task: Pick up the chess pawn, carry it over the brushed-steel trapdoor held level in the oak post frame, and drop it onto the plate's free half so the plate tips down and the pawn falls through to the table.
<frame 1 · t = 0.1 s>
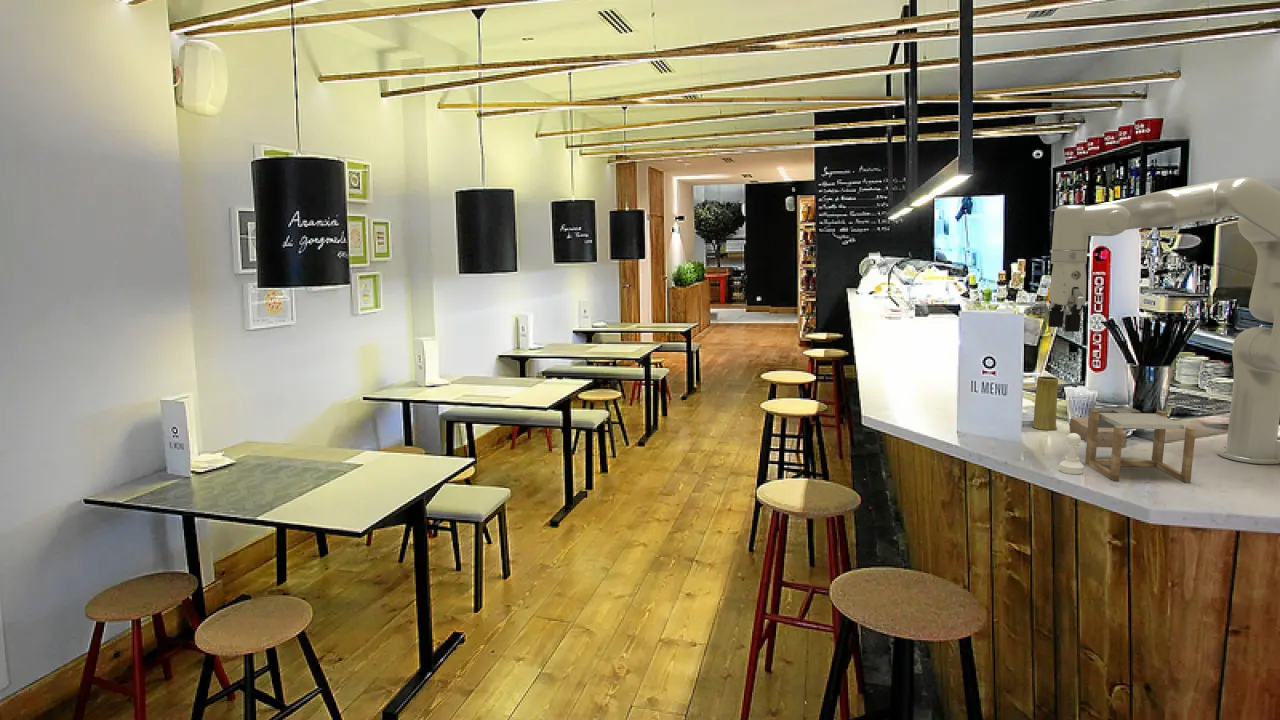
hand: (1063, 329, 193), 31 cm above the table, fingers open, 9 cm apart
chess pawn: (1071, 472, 184), on the table
frame: (1129, 469, 185), on the table
vase: (1044, 428, 225), on the table
brick: (1097, 441, 212), on the table
trapdoor: (1129, 424, 185), point 10 cm above the table, hinge at 0.0°
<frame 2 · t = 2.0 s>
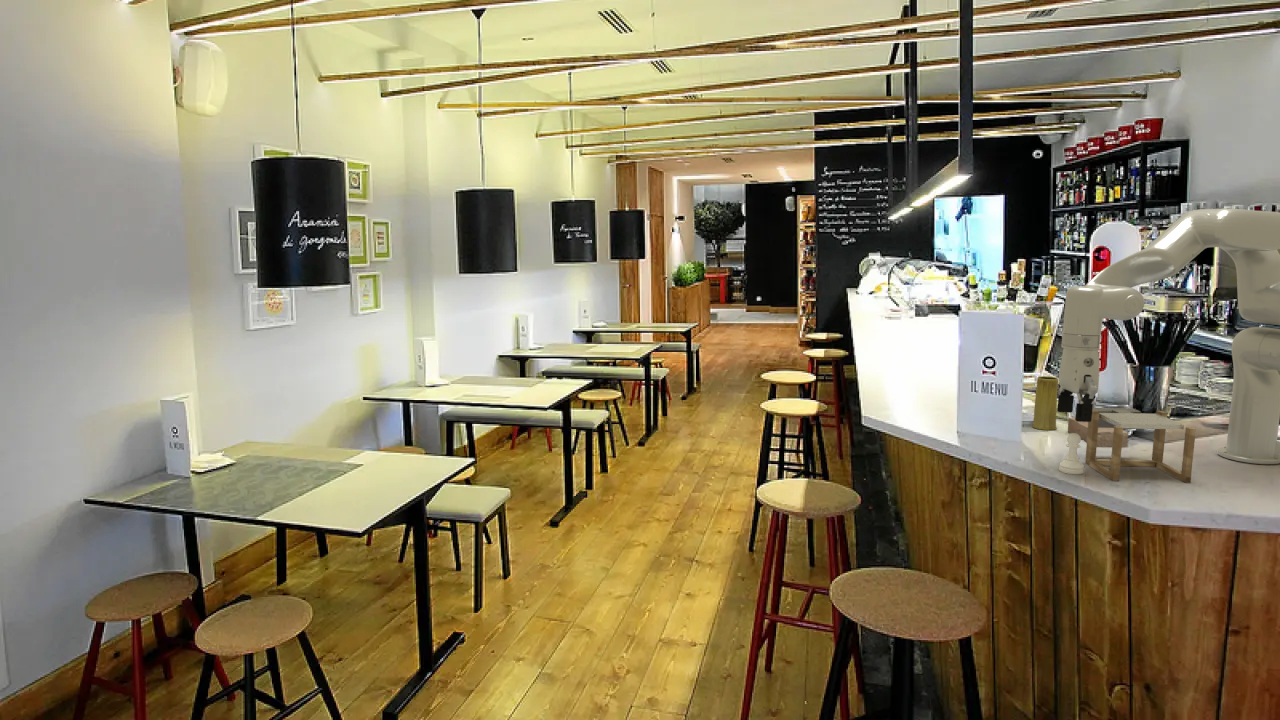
hand: (1073, 416, 182), 13 cm above the table, fingers open, 9 cm apart
nothing on the table moved.
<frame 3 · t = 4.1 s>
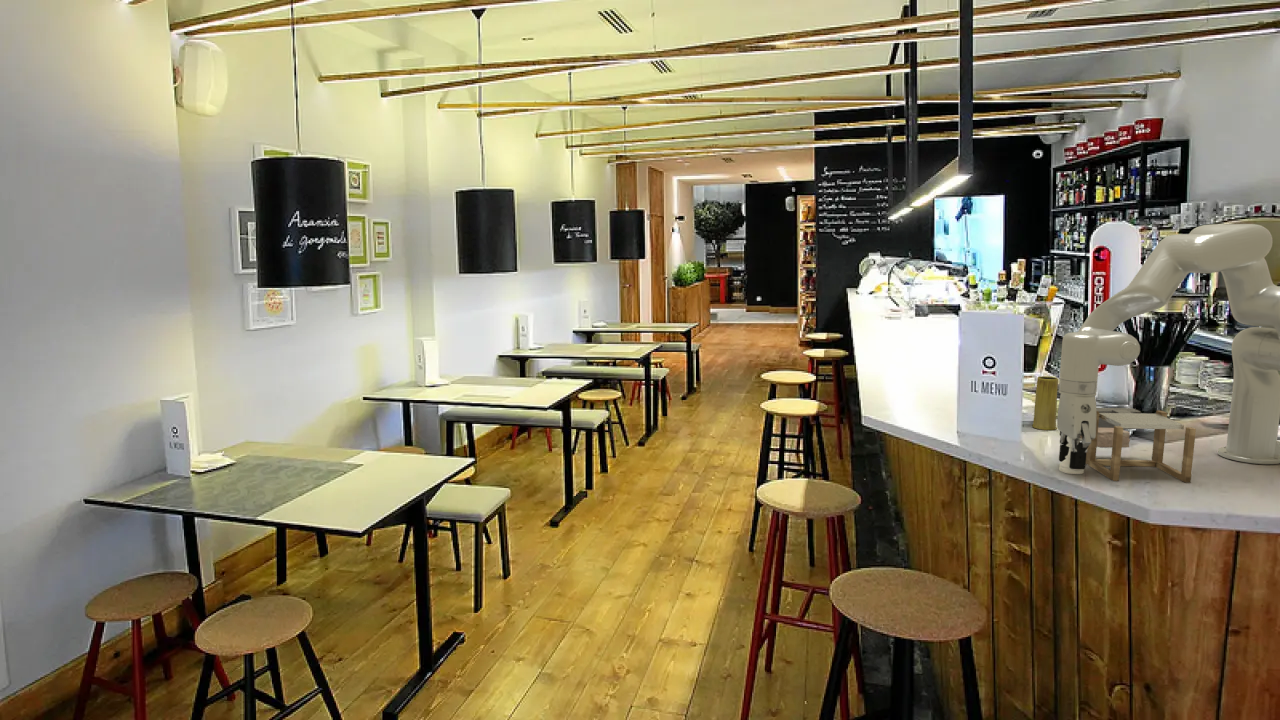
hand: (1071, 464, 183), 2 cm above the table, fingers closed on chess pawn, 5 cm apart
chess pawn: (1071, 472, 184), on the table, touching gripper
everything else where it was.
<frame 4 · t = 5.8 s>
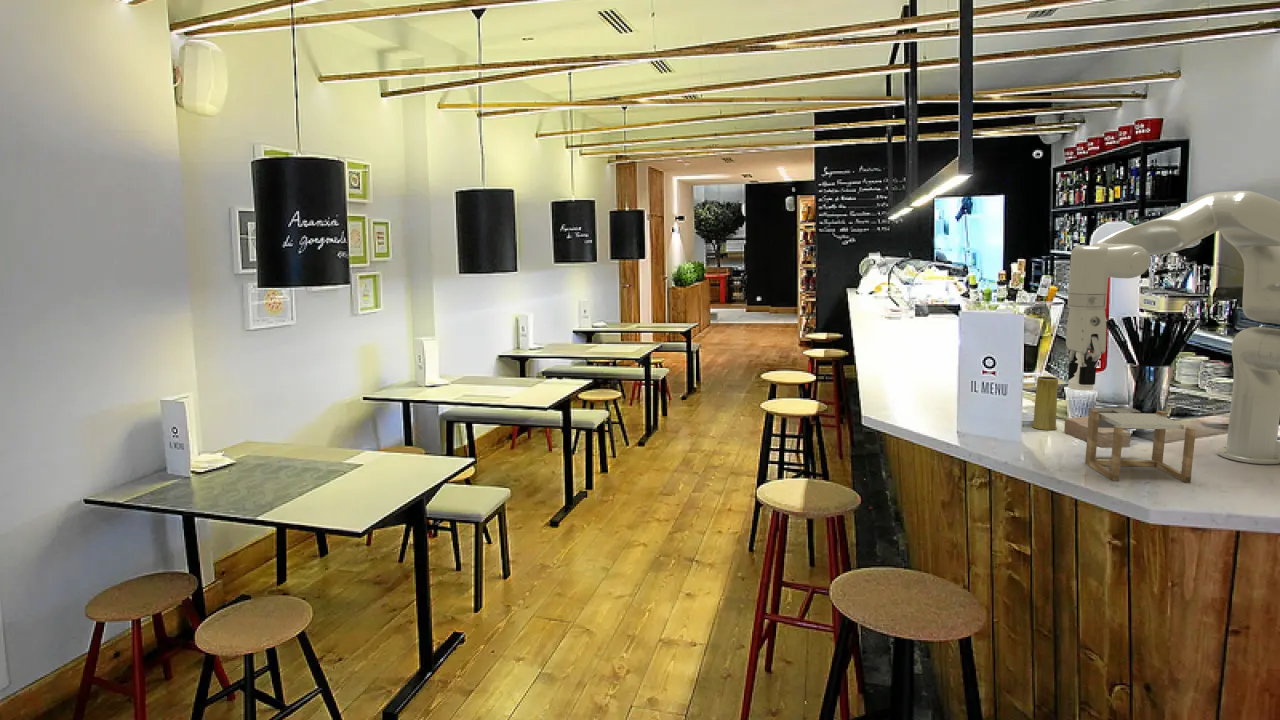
hand: (1081, 381, 180), 21 cm above the table, fingers closed on chess pawn, 5 cm apart
chess pawn: (1080, 389, 181), point 19 cm above the table, touching gripper
everything else where it was.
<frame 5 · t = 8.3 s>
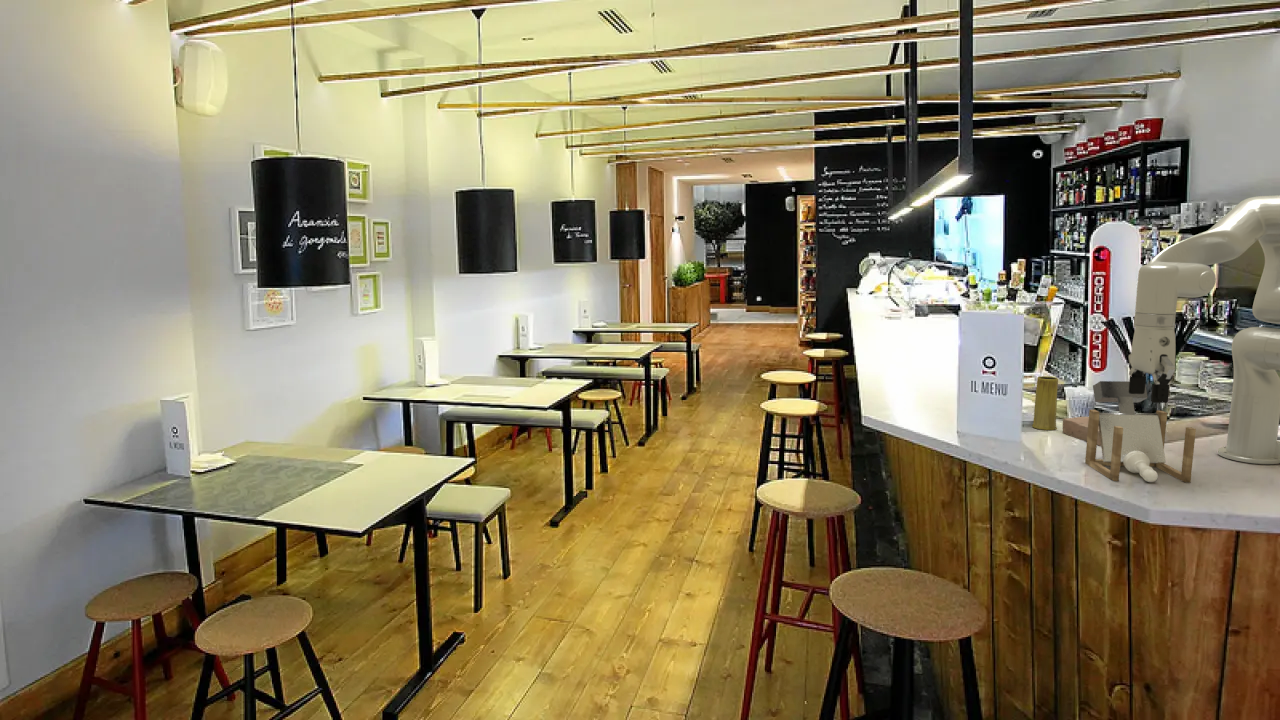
hand: (1147, 397, 177), 18 cm above the table, fingers open, 9 cm apart
chess pawn: (1134, 459, 182), point 3 cm above the table, touching trapdoor
trapdoor: (1124, 422, 187), point 10 cm above the table, hinge at -63.5°, touching chess pawn
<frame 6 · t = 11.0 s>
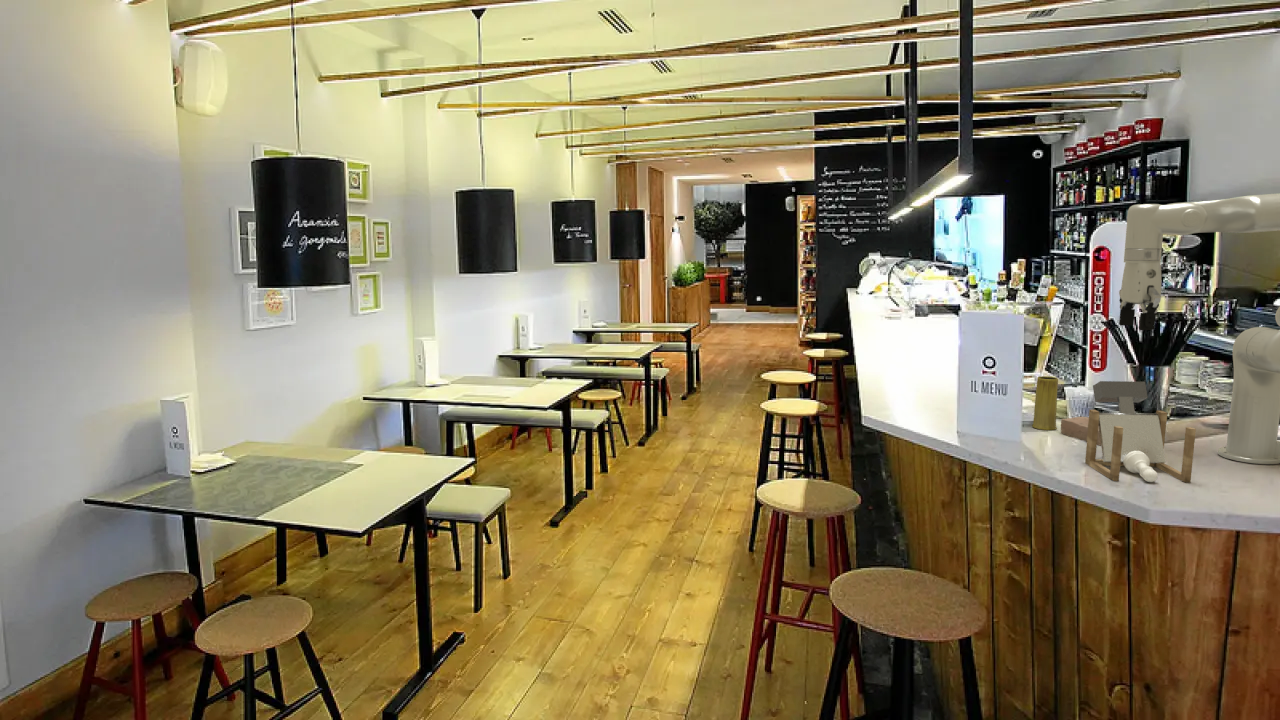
hand: (1136, 327, 194), 31 cm above the table, fingers open, 9 cm apart
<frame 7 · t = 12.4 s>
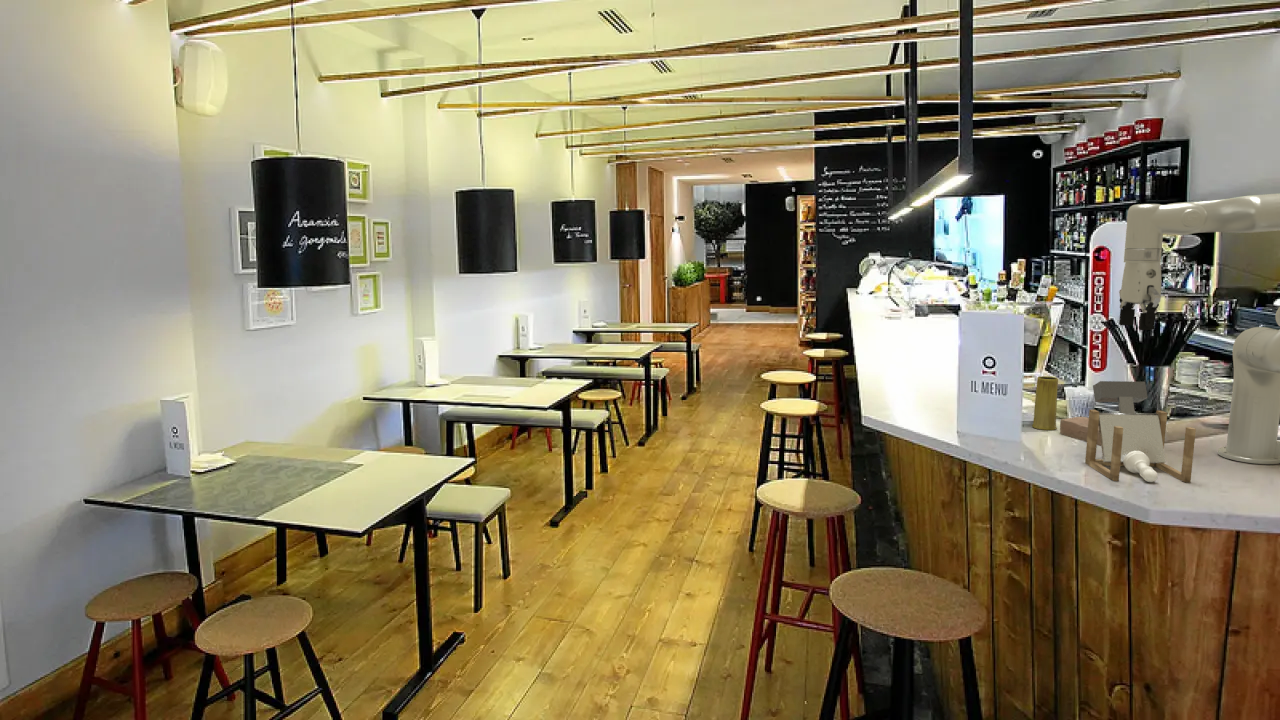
hand: (1136, 327, 194), 31 cm above the table, fingers open, 9 cm apart
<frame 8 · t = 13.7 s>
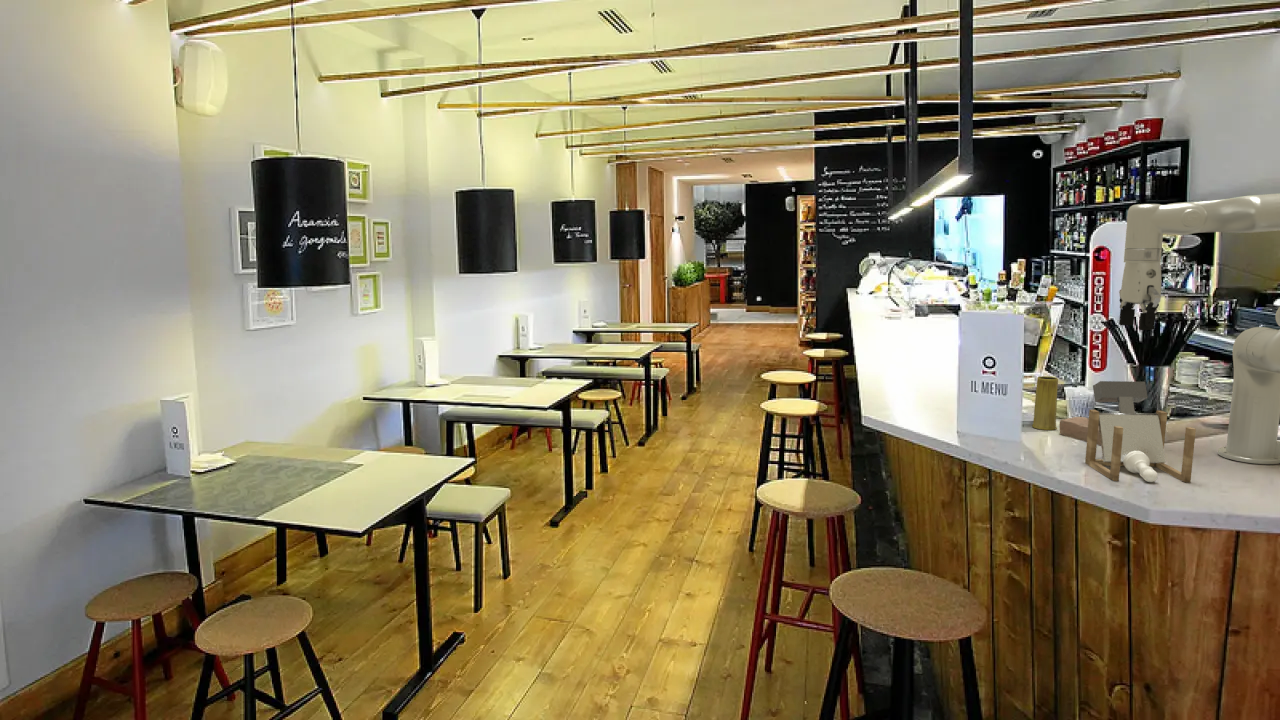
hand: (1136, 327, 194), 31 cm above the table, fingers open, 9 cm apart
at the end: chess pawn point 2.8 cm above the table; chess pawn inside the target area (0.3 cm from its centre), point 2.8 cm above the table; the gripper is holding nothing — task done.
